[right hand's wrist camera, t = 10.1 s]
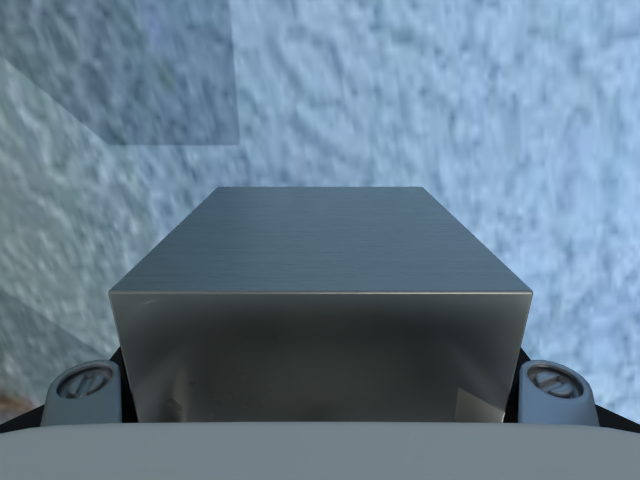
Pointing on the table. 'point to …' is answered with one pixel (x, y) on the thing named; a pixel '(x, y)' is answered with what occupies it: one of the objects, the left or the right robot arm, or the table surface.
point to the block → (320, 312)
